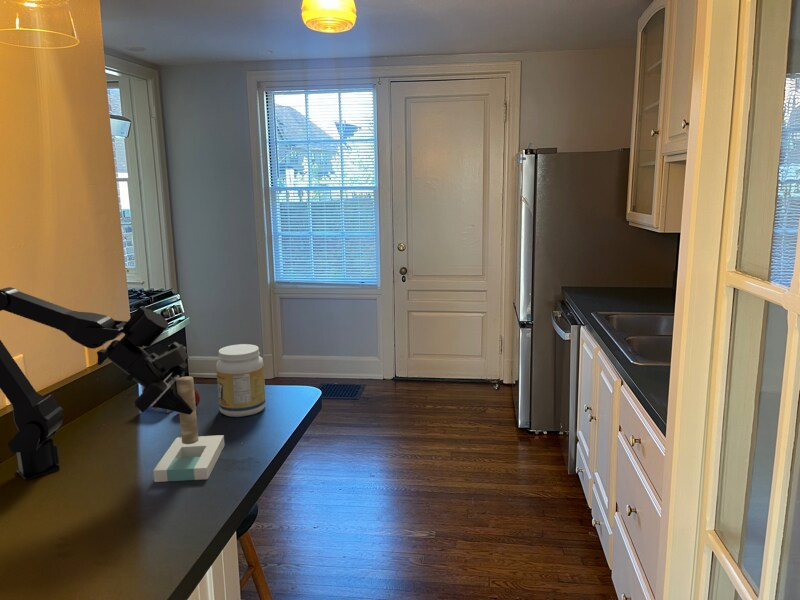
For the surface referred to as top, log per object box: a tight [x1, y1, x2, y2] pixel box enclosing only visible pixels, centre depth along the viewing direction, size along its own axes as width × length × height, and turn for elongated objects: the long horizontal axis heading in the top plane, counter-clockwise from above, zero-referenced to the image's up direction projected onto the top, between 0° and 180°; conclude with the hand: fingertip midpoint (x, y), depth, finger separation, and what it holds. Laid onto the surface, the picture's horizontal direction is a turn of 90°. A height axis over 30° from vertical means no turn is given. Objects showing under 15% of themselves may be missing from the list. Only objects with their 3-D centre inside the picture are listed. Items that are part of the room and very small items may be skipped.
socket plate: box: [152, 434, 226, 483], centre depth 125 cm, size 16×11×2 cm, turn 5°
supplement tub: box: [215, 343, 267, 418], centre depth 154 cm, size 12×12×17 cm
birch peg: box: [176, 376, 199, 444], centre depth 123 cm, size 3×3×14 cm
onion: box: [194, 387, 201, 408], centre depth 154 cm, size 6×6×8 cm
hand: (194, 409), depth 124 cm, fingers closed on birch peg, 3 cm apart
